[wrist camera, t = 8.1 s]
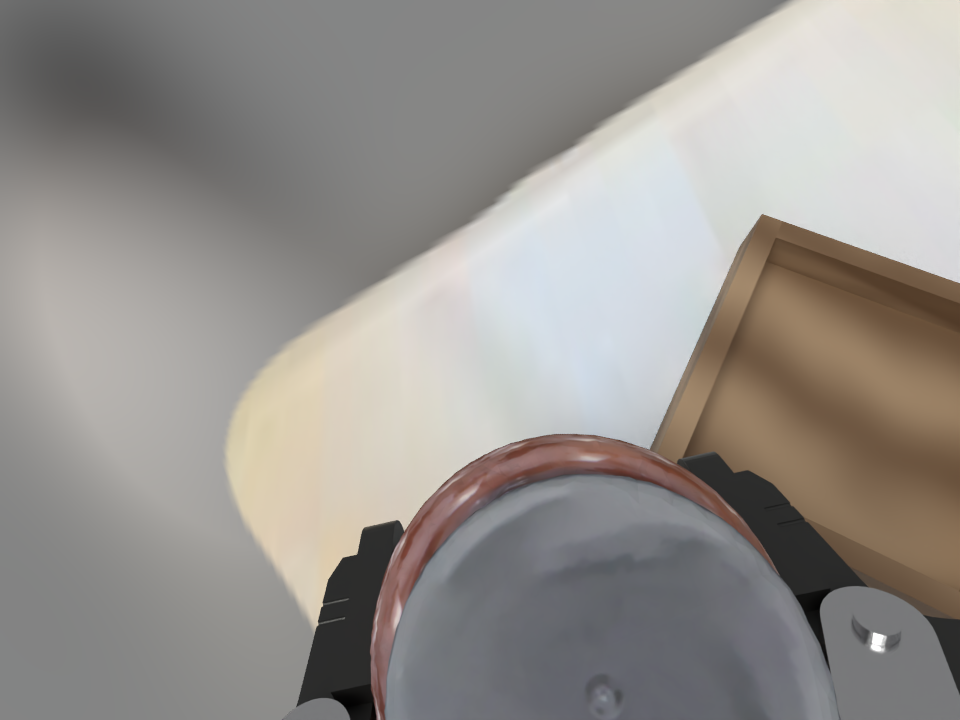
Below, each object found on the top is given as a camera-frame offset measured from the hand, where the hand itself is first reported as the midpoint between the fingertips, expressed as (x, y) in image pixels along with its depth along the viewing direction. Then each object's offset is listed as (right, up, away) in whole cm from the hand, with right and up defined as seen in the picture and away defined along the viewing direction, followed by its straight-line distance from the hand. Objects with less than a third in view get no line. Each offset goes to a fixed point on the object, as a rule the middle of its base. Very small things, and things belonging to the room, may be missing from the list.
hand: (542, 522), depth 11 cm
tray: (+16, +1, +14) cm, 21 cm away
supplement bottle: (+1, -3, +4) cm, 5 cm away
